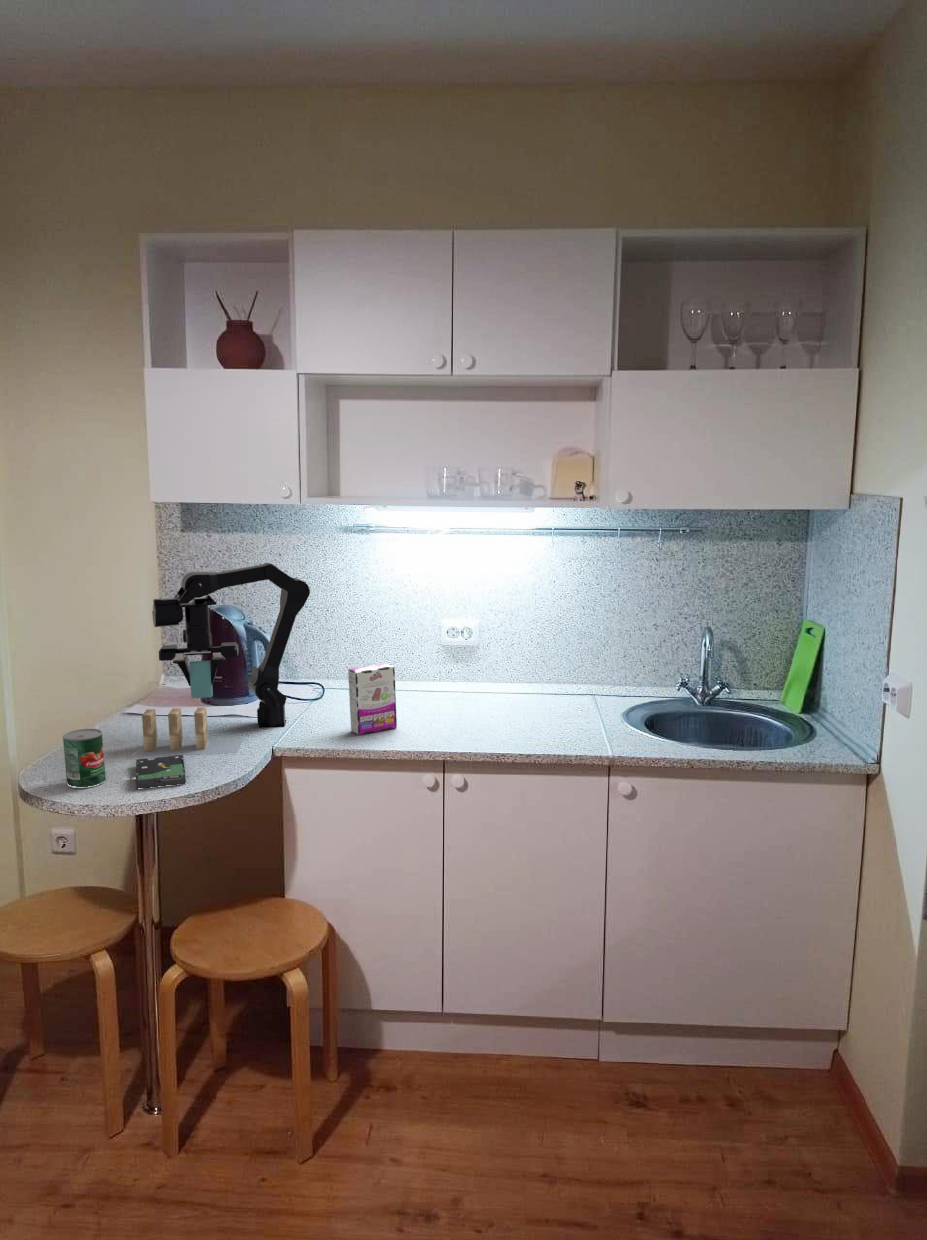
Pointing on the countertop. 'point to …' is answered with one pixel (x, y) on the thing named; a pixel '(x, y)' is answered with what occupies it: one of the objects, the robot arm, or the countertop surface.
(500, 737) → the countertop surface
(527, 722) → the countertop surface
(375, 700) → the candy bar box
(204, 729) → the maple tile
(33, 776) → the countertop surface
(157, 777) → the disk drive
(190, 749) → the slate mat
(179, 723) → the maple tile
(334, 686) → the countertop surface
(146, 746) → the maple tile
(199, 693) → the teal tile
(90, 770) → the canned tomato
